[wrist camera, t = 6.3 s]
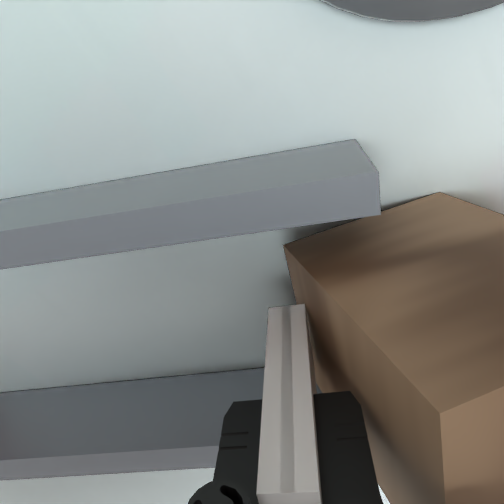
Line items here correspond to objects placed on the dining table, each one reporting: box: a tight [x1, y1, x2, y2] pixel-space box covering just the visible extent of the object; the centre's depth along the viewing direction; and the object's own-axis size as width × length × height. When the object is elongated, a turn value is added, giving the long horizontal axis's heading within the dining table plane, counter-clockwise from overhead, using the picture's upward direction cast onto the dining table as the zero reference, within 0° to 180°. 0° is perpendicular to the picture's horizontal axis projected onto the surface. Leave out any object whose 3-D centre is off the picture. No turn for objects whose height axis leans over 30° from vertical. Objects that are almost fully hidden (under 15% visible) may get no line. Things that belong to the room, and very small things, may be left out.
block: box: [283, 192, 504, 504], centre depth 12 cm, size 6×6×8 cm
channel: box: [0, 139, 381, 480], centre depth 16 cm, size 24×11×5 cm, turn 101°
